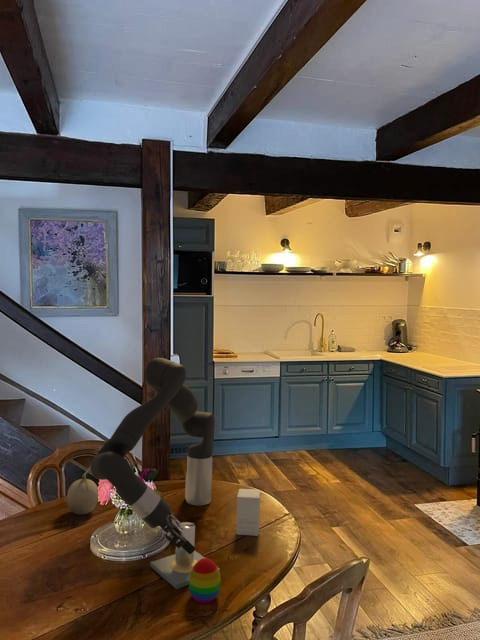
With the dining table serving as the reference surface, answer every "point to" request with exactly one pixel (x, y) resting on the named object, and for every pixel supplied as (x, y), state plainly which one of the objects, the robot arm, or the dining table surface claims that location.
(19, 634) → the dining table surface
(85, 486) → the fruit
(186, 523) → the clear glass cylinder
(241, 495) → the supplement box
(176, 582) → the flange plate
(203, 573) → the decorative egg
